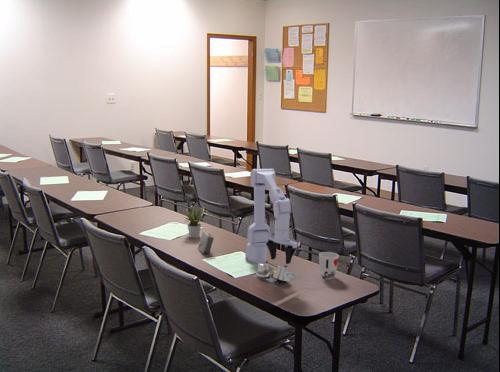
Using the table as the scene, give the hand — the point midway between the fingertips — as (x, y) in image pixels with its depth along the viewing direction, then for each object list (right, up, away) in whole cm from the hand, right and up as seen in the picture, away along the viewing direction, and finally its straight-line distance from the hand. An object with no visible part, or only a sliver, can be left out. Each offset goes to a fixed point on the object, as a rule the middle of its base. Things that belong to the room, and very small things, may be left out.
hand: (280, 261), depth 212 cm
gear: (0, -7, +1) cm, 8 cm away
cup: (+21, -9, +10) cm, 25 cm away
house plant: (-41, +4, +67) cm, 78 cm away
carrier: (-1, -8, +8) cm, 11 cm away
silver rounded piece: (-7, -7, +7) cm, 12 cm away
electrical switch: (-34, -1, +42) cm, 54 cm away
